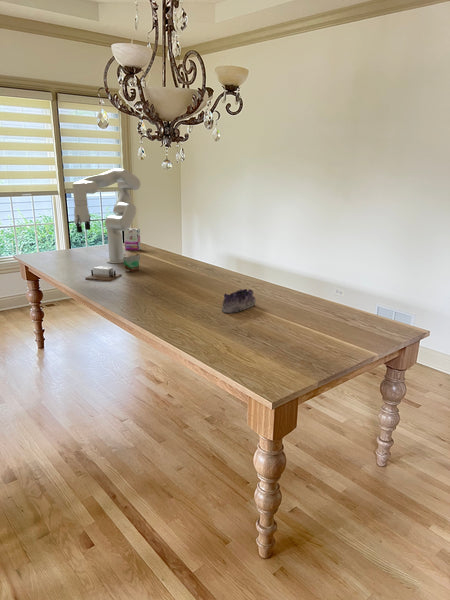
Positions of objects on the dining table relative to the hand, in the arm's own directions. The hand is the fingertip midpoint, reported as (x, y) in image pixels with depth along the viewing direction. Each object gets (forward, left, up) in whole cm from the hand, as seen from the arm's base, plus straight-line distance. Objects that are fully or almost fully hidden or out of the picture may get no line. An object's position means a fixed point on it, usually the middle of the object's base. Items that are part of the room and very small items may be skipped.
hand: (84, 231), depth 271 cm
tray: (+13, +20, -25) cm, 34 cm away
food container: (-7, +30, -25) cm, 40 cm away
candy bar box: (-67, -2, -25) cm, 72 cm away
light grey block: (+13, +20, -24) cm, 33 cm away
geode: (+41, +110, -25) cm, 121 cm away
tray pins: (+13, +20, -24) cm, 34 cm away
